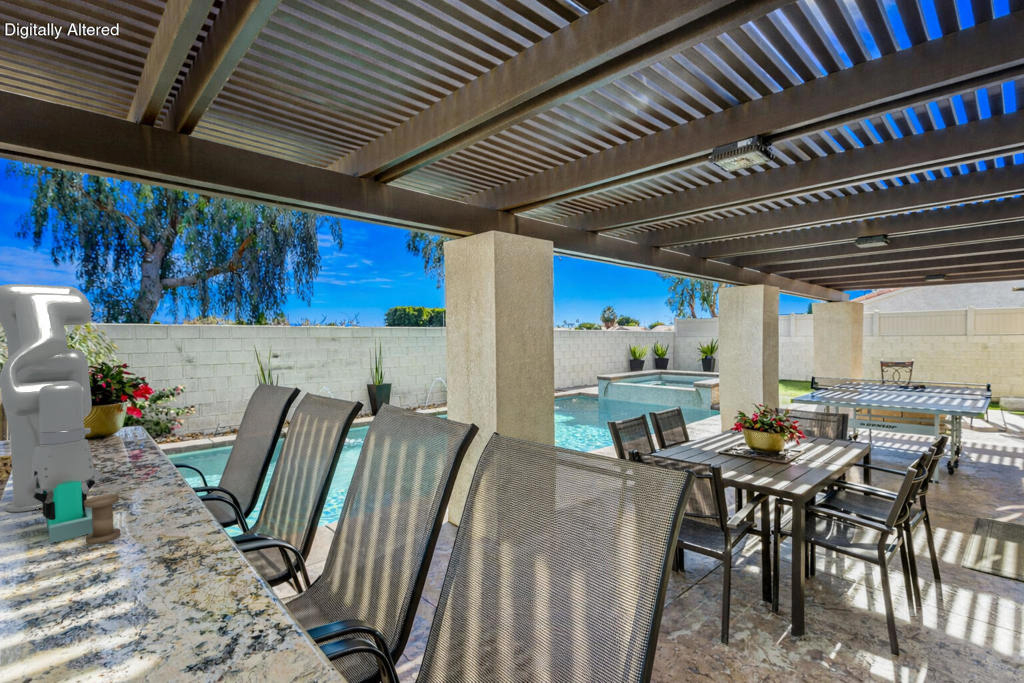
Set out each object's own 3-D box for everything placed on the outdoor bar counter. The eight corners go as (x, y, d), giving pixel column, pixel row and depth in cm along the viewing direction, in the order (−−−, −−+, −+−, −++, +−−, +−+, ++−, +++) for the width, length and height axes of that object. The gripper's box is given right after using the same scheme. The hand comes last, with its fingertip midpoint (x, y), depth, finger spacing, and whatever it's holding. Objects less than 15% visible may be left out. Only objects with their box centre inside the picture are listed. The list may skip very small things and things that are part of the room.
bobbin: (79, 541, 108) (78, 501, 108) (111, 531, 114) (109, 492, 113) (95, 545, 106) (93, 504, 106) (126, 535, 111) (124, 495, 111)
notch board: (46, 529, 116) (46, 514, 115) (96, 518, 122) (95, 504, 122) (50, 543, 107) (49, 528, 107) (103, 531, 114) (102, 516, 114)
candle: (62, 532, 110) (60, 479, 110) (41, 530, 111) (39, 478, 111) (90, 521, 116) (88, 471, 116) (70, 520, 117) (68, 470, 117)
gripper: (97, 428, 123) (99, 500, 123) (5, 443, 107) (8, 525, 107) (114, 431, 119) (116, 504, 120) (22, 446, 104) (25, 531, 104)
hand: (65, 513), depth 114 cm, fingers closed on candle, 4 cm apart
